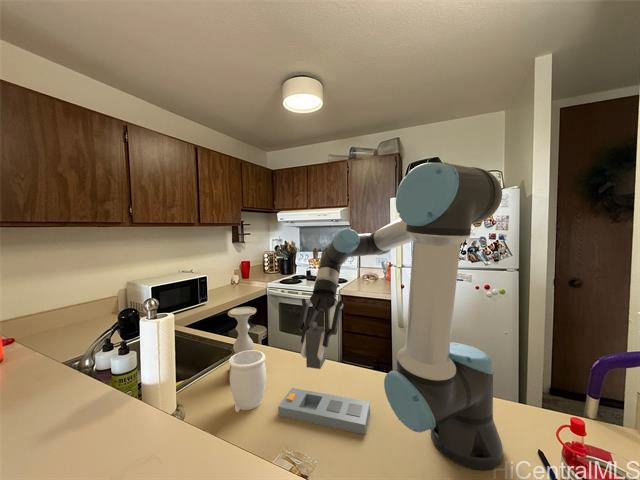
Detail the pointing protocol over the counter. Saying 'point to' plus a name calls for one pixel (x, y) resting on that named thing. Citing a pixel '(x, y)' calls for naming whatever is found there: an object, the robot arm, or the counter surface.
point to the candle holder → (242, 330)
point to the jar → (247, 379)
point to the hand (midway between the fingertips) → (311, 357)
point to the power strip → (326, 410)
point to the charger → (314, 346)
